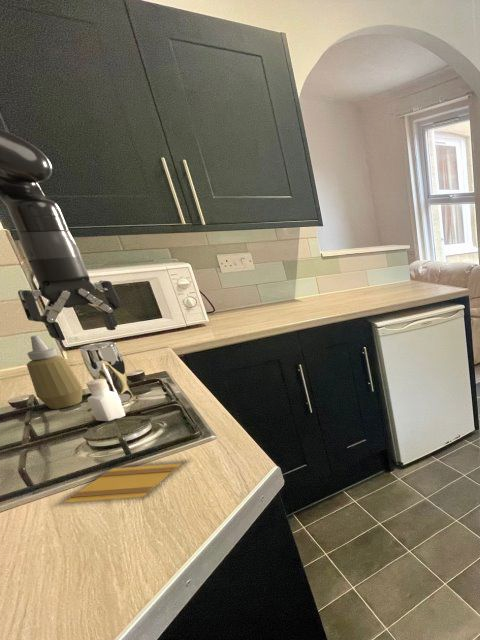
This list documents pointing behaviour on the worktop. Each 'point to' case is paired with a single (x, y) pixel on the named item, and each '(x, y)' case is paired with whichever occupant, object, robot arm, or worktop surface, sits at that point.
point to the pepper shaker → (104, 401)
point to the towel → (124, 483)
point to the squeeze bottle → (52, 377)
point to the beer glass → (108, 368)
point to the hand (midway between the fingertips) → (87, 334)
